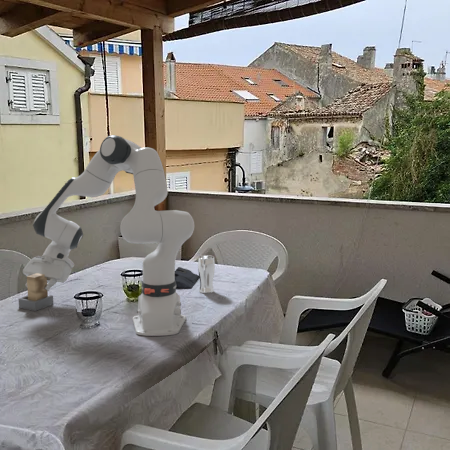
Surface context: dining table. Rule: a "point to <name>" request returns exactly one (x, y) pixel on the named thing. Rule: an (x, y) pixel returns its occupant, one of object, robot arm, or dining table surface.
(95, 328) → the dining table surface
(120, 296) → the dining table surface
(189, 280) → the dark slate chunk
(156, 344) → the dining table surface
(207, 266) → the beer glass
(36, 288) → the tan rectangular block
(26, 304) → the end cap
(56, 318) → the dining table surface
